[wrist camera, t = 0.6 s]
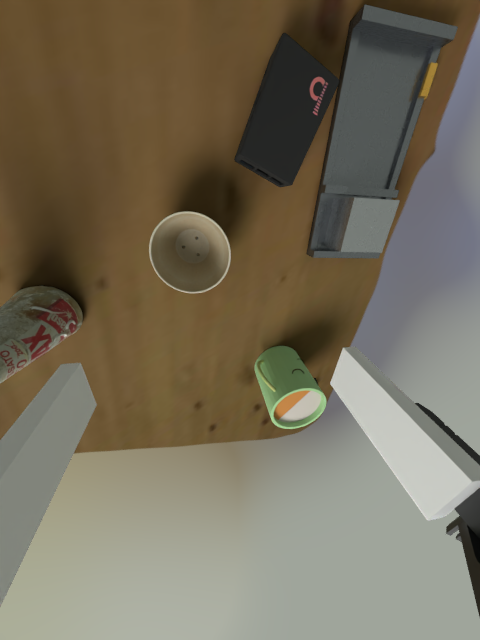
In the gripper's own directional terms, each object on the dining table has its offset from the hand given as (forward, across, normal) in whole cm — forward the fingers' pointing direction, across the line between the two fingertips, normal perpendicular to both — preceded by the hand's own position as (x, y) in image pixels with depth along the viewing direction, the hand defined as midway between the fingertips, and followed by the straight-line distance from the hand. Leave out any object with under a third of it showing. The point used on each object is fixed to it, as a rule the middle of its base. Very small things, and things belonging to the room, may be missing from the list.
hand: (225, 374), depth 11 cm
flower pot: (+27, -2, +1) cm, 27 cm away
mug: (+26, +14, -22) cm, 38 cm away
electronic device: (+28, +9, +16) cm, 33 cm away
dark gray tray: (+27, +23, +14) cm, 38 cm away
